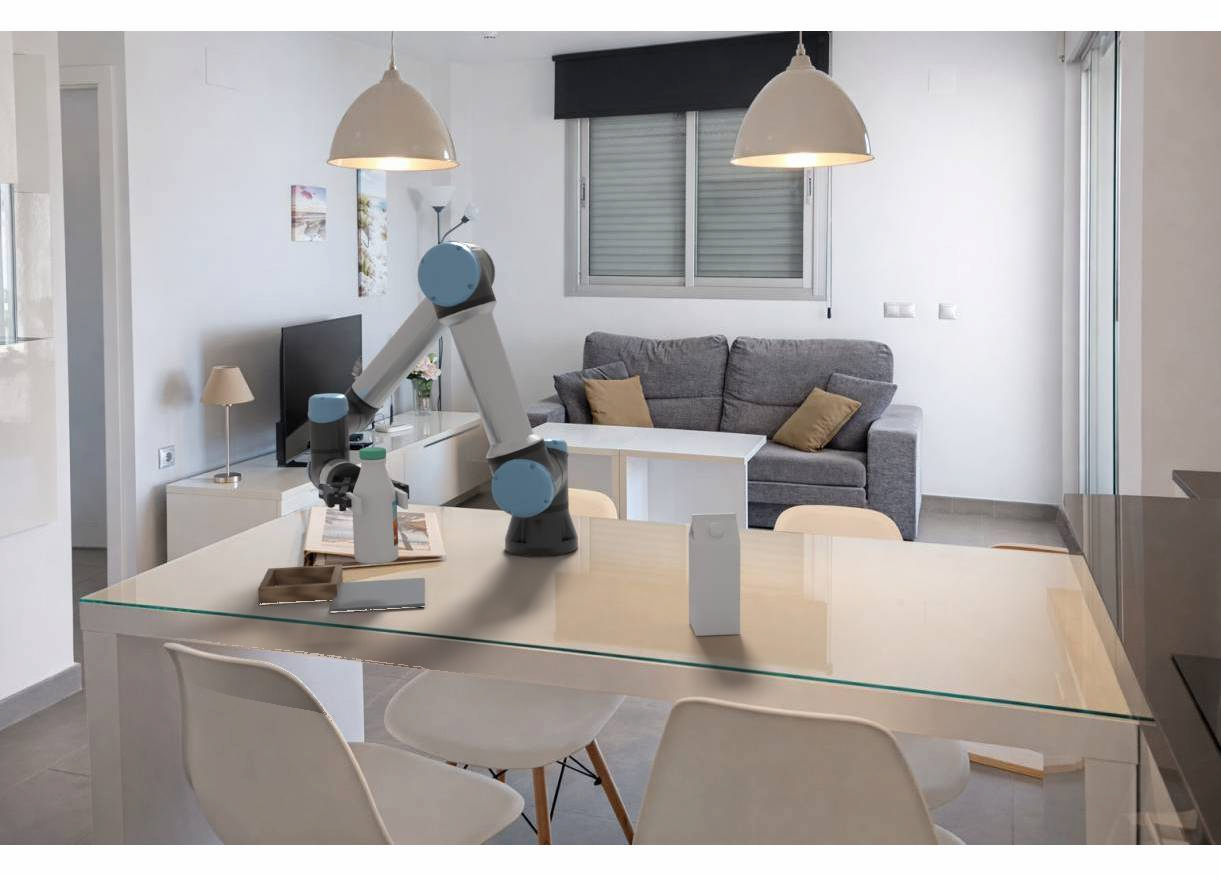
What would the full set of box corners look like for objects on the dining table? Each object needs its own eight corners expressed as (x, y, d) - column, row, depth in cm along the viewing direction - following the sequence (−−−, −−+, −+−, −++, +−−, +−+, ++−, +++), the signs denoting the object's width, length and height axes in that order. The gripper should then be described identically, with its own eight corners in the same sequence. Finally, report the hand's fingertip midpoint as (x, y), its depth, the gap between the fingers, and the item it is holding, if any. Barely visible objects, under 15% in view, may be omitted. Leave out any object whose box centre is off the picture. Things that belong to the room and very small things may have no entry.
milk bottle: (388, 566, 193) (384, 453, 190) (347, 564, 194) (342, 451, 191) (405, 554, 200) (401, 445, 197) (365, 552, 202) (361, 444, 199)
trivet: (424, 581, 207) (424, 577, 207) (424, 607, 192) (424, 603, 192) (337, 587, 205) (337, 582, 205) (330, 613, 189) (329, 609, 189)
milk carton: (688, 622, 182) (688, 509, 179) (731, 620, 183) (731, 508, 180) (695, 637, 175) (695, 519, 172) (740, 635, 176) (740, 518, 173)
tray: (342, 579, 210) (342, 564, 209) (337, 600, 197) (336, 584, 196) (269, 584, 207) (268, 568, 207) (259, 605, 194) (258, 589, 194)
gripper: (397, 495, 217) (439, 518, 197) (292, 507, 207) (325, 532, 187) (396, 457, 215) (438, 476, 196) (289, 467, 206) (322, 489, 186)
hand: (382, 504), depth 191 cm, fingers closed on milk bottle, 7 cm apart
